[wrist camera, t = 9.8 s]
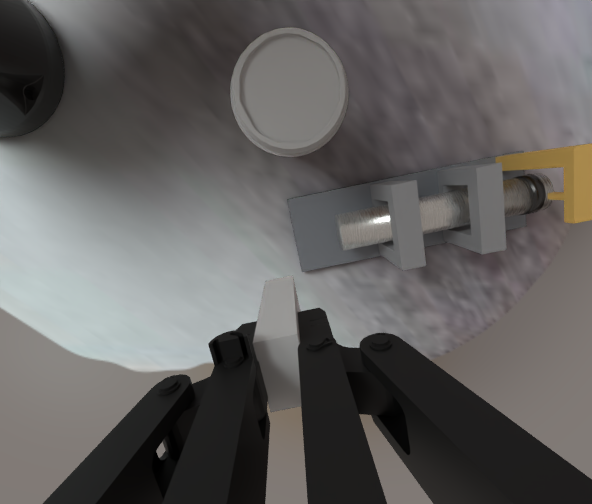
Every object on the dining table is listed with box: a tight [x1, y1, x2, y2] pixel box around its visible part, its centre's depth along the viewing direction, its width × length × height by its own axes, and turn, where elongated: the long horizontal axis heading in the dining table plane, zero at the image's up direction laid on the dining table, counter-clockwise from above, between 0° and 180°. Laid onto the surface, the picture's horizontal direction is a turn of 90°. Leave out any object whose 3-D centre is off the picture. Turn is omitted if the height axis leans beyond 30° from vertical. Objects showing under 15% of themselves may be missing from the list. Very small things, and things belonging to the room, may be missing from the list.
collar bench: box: [287, 143, 592, 272], centre depth 32 cm, size 28×9×11 cm, turn 102°
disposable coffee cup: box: [230, 27, 349, 157], centre depth 29 cm, size 10×10×12 cm
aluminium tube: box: [335, 173, 553, 251], centre depth 34 cm, size 22×4×4 cm, turn 102°
